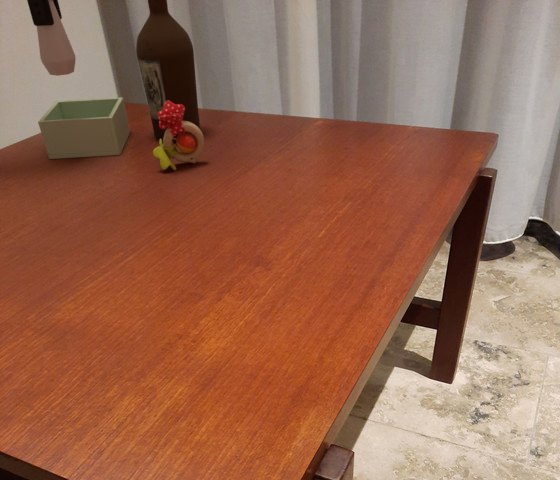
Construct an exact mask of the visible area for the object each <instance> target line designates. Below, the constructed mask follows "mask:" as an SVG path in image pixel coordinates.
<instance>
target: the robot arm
mask: <svg viewBox="0 0 560 480" xmlns="http://www.w3.org/2000/svg"><path fill="white" fill-rule="evenodd" d="M26 1H27V5H28V8H29V12H30V16H31V19H32V23H33V25H34V26H36V27H37V26H49V25H53V24H54V20H53V16H52V12H51V8H50V4H49V0H26ZM53 2H54V5H55V7H56V10H57V12H58V15H59V17H60V20H61V21H62V19H63V16H62V12H61V9H60V8H61V7H60V3H59V0H53Z"/></svg>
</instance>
